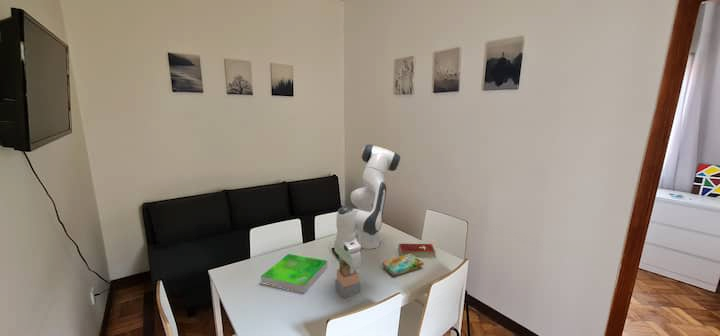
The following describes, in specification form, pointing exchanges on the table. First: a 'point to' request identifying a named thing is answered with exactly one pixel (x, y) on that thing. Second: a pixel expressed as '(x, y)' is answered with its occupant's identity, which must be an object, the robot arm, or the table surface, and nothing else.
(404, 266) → the puzzle game
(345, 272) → the walnut block
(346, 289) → the tower base
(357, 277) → the block
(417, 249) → the hardcover book
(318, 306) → the table surface
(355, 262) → the robot arm
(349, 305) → the table surface
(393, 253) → the table surface
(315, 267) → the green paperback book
